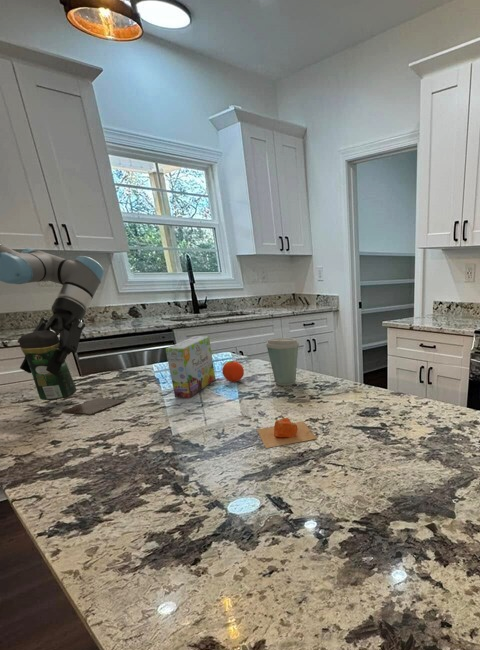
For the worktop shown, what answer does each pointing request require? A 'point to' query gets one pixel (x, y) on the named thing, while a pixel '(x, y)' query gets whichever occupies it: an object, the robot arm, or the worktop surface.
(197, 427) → the worktop surface
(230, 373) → the clementine
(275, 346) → the disposable coffee cup
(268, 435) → the orange chunks on board
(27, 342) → the coffee jar
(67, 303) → the robot arm
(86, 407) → the walnut coaster
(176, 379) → the snack box
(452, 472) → the worktop surface
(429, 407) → the worktop surface
